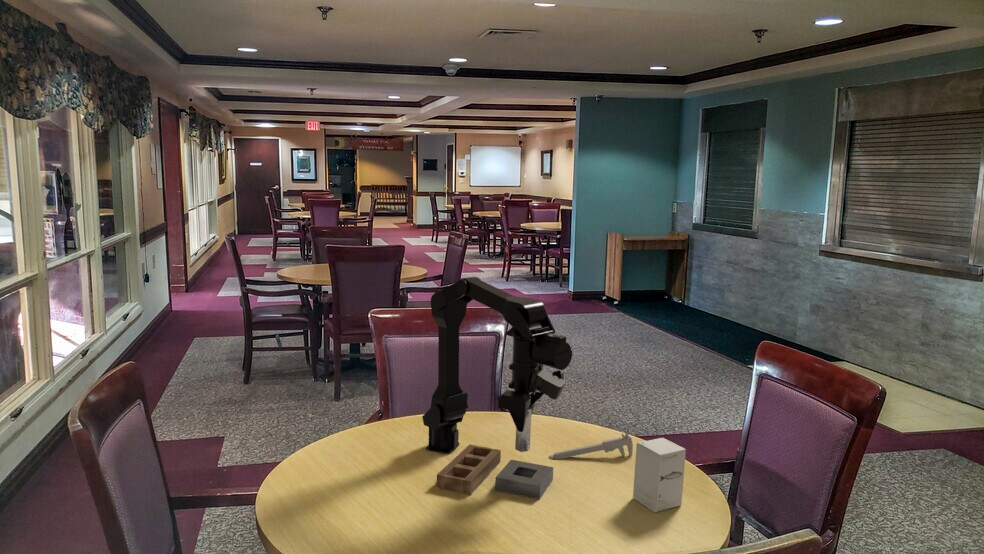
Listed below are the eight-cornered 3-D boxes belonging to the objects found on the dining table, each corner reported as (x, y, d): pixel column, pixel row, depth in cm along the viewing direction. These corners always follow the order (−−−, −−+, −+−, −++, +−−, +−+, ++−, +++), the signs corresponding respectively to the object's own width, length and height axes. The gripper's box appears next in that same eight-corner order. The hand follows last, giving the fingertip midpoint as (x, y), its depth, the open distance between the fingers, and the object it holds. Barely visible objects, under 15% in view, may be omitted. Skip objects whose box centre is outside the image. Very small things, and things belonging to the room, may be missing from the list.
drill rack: (436, 487, 147) (436, 474, 147) (469, 456, 164) (469, 444, 164) (470, 494, 145) (471, 481, 144) (500, 462, 161) (500, 450, 161)
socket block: (495, 490, 147) (495, 477, 146) (510, 471, 156) (511, 459, 156) (539, 499, 143) (540, 486, 143) (552, 479, 153) (553, 467, 152)
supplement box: (655, 513, 139) (659, 454, 137) (631, 498, 145) (635, 441, 143) (682, 506, 142) (687, 448, 140) (658, 491, 149) (662, 436, 147)
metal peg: (513, 450, 148) (514, 410, 146) (518, 444, 151) (519, 405, 149) (527, 452, 147) (528, 412, 145) (531, 447, 150) (533, 407, 148)
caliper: (630, 455, 167) (632, 431, 166) (632, 457, 166) (633, 433, 165) (548, 458, 165) (549, 433, 164) (549, 460, 164) (550, 435, 163)
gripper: (550, 376, 134) (546, 451, 137) (573, 353, 151) (570, 420, 154) (496, 368, 138) (494, 441, 141) (525, 347, 155) (523, 412, 158)
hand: (523, 428), depth 148 cm, fingers closed on metal peg, 3 cm apart
